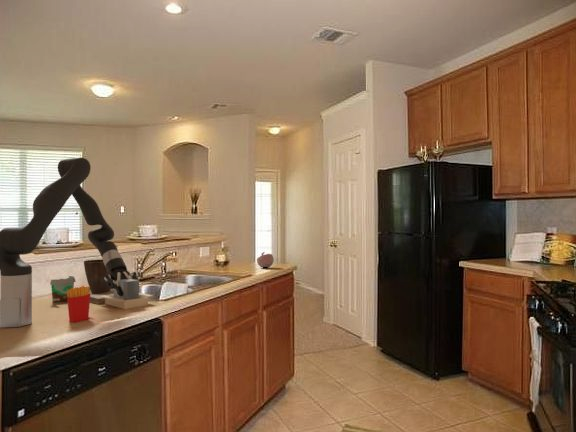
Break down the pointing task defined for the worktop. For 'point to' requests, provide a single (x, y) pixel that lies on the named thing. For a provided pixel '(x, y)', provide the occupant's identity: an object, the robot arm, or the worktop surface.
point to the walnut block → (99, 300)
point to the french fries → (78, 303)
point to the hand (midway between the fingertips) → (128, 294)
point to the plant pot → (96, 276)
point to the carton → (127, 301)
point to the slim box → (128, 289)
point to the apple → (265, 260)
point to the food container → (61, 288)
